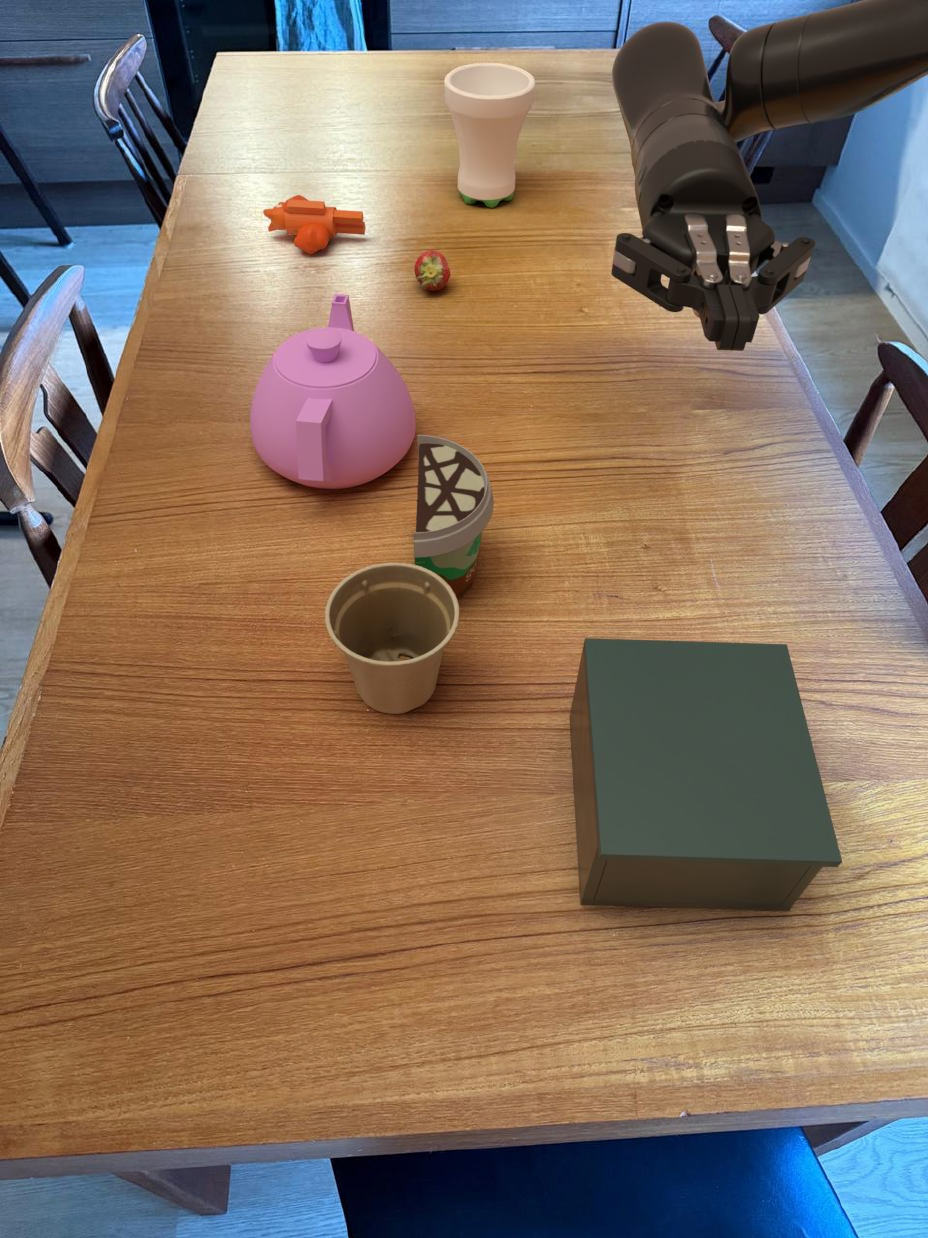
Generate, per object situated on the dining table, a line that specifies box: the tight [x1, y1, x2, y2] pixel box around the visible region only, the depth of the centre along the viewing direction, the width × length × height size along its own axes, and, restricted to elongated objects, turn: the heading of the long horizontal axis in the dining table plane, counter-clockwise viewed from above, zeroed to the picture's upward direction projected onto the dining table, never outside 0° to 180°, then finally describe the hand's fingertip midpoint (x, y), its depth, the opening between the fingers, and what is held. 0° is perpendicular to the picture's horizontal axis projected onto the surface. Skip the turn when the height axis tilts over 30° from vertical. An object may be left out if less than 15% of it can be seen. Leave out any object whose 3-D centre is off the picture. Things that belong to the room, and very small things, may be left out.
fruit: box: [413, 249, 451, 292], centre depth 104 cm, size 4×6×5 cm
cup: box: [443, 62, 536, 209], centre depth 115 cm, size 11×11×14 cm
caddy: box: [569, 645, 823, 912], centre depth 60 cm, size 15×14×9 cm
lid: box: [583, 637, 843, 868], centre depth 56 cm, size 16×14×1 cm
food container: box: [412, 434, 495, 600], centre depth 73 cm, size 12×6×10 cm, turn 0°
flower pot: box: [324, 561, 460, 715], centre depth 66 cm, size 9×9×9 cm
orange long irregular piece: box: [262, 194, 366, 255], centre depth 110 cm, size 5×8×12 cm
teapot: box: [249, 293, 417, 490], centre depth 82 cm, size 22×16×12 cm
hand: (734, 336), depth 51 cm, fingers closed
